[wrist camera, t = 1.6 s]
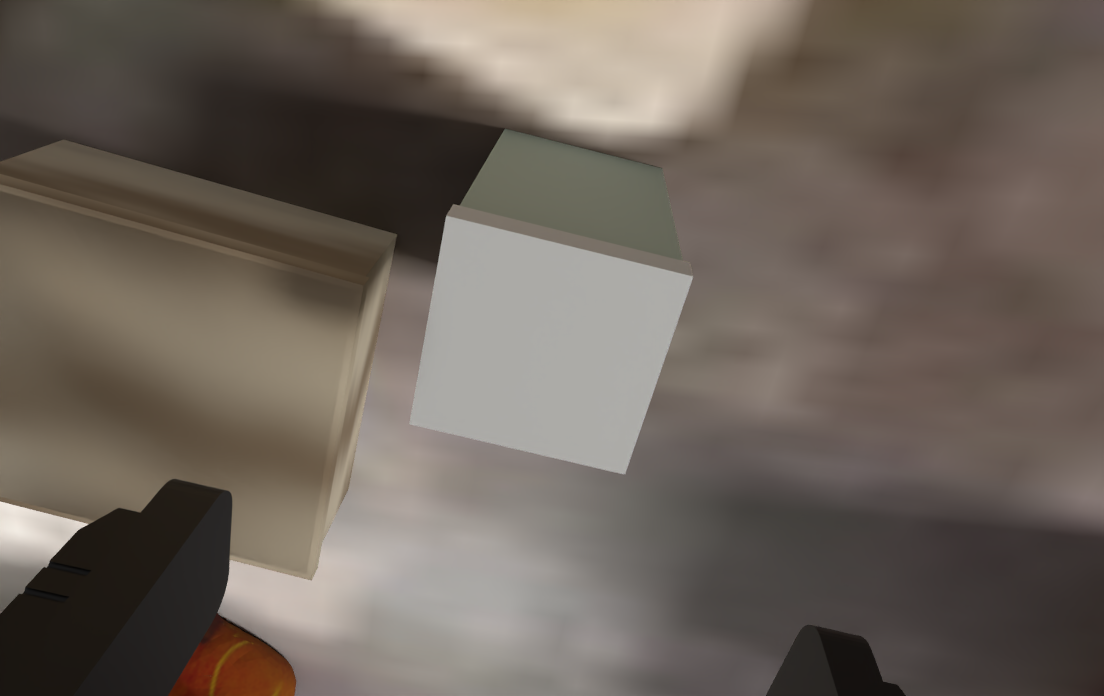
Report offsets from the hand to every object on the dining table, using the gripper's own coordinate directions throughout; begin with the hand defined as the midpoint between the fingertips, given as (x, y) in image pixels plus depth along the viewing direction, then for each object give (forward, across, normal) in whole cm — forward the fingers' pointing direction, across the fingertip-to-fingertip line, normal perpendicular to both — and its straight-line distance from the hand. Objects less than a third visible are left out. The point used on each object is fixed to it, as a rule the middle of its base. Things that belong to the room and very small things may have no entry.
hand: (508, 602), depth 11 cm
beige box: (+17, +11, +7) cm, 21 cm away
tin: (+16, 0, 0) cm, 16 cm away
